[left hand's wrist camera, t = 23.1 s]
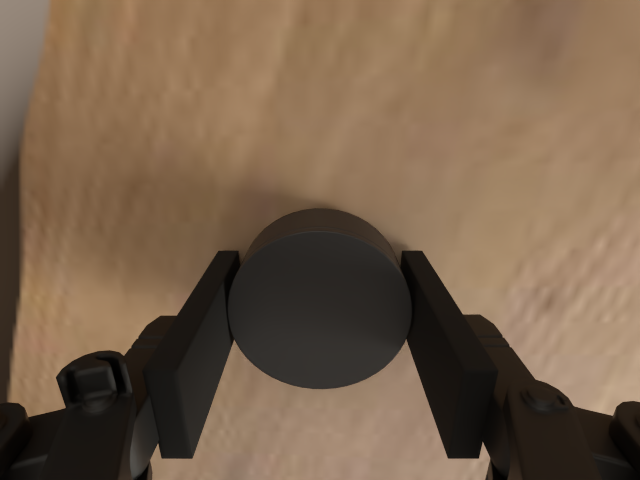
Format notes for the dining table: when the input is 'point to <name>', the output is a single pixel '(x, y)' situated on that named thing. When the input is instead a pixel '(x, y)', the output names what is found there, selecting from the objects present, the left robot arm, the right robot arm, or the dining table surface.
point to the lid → (320, 300)
